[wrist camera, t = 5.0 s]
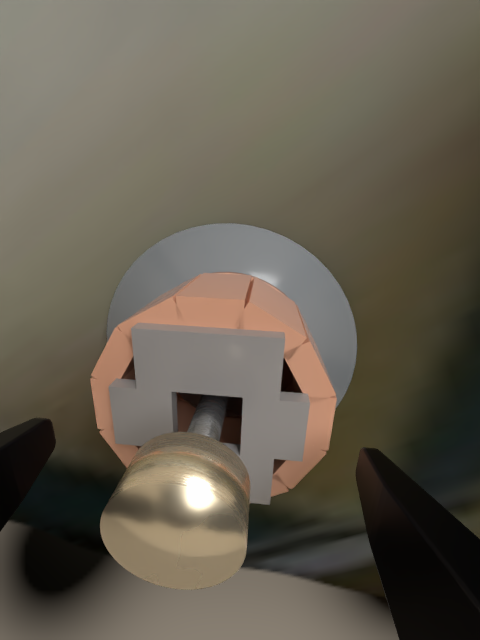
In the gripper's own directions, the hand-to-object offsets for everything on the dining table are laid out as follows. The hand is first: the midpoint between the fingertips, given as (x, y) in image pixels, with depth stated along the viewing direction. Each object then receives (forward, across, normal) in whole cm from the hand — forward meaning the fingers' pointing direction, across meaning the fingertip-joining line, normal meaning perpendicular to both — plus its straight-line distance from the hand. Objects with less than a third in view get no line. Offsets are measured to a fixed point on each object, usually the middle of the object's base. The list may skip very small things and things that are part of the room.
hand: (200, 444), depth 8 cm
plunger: (+5, 0, 0) cm, 5 cm away
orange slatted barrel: (+6, 0, 0) cm, 6 cm away
